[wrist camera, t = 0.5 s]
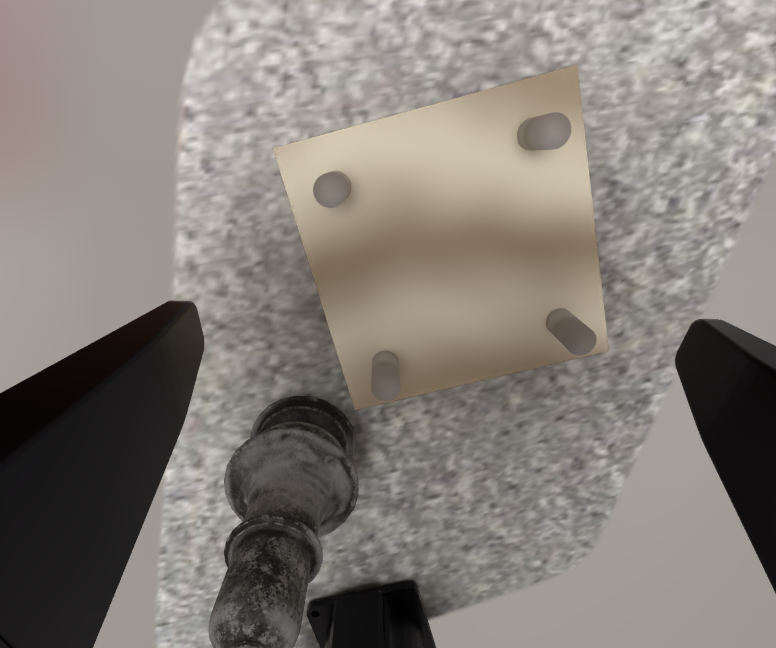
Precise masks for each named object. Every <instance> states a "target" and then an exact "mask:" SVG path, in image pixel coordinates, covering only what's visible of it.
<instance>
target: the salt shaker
mask: <svg viewBox="0 0 776 648" xmlns="http://www.w3.org/2000/svg"><path fill="white" fill-rule="evenodd" d="M354 453H355V434H354V431H353V428H352V425H351V424H350V422H349V421H348V419H347V418H346V416H345V415H344V414H343V413H342V412H341V411H340V410H339V409H337V408H336V407H335V406H334V405H332V404H330V403H328V402H326V401H324V400H321V399H317V398H313V397H309V396H294V397H289V398H285V399H281V400H279V401H277V402H275V403H273V404H271V405H269V406H268V407H267V408H266V409H265V410H264V411H263V412H262V413H261V414H260V415H259V417H258V419H257V420H256V422H255V424H254V426H253V430H252V434H251V439H249V440H247V441H246V442H245V443H244V444H243V445H242V446H240V447H239V448H238V449H237V450H236V451H235V453H234V454H233V456H232V458H231V460H230V461H229V463H228V465H227V468H226V473H225V478H224V484H225V493H226V497H227V499H228V501H229V504H230V506H231V508H232V510H233V511H234V512H235V513H236V514H237V516H238V517H239V518H240V519H241V521H243V522H242V523H241V524H239V525H238V526H237V527H236V528H235V529H234V530H233V531H232V532H231V534H230V536H229V537H228V539H227V541H226V545H225V550H224V556H225V562H226V565H227V567H228V570H227V572H226V575H225V578H224V580H223V583H222V586H221V589H220V591H219V594H218V597H217V599H216V602H215V605H214V608H213V610H212V613H211V618H210V623H209V637H210V641H211V643H212V646H213V648H293V647H294V645H295V643H296V641H297V638H298V635H299V632H300V628H301V622H302V616H303V610H304V604H305V598H306V592H307V586H308V583H310V582H311V581H312V580H313V579H314V578H315V576H316V575H317V574H318V572H319V570H320V567H321V564H322V560H323V555H322V547H321V544H320V541H319V539H318V538H319V537H321V536H323V535H325V534H328V533H330V532H332V531H334V530H335V529H336V528H338V527H339V526H340V525H341V524H342V523H344V522H345V521H346V520H347V518H348V517H349V515H350V514H351V512H352V511H353V510H354V507H355V504H356V501H357V498H358V477H357V474H356V471H355V468H354V465H353V463H352V459H353V456H354Z"/></svg>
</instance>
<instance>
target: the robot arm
mask: <svg viewBox="0 0 776 648" xmlns="http://www.w3.org/2000/svg"><path fill="white" fill-rule="evenodd" d="M203 351H204V336H203V331H202V327H201V323H200V319H199V315H198V311H197V307H196V306H195V304H194V303H193V302H191V301H168V302H166V303H165V304H162V305H161V306H159V307H157V308H155V309H153V310H152V311H150V312H148V313H146V314H144V315H142V316H141V317H139V318H137V319H135V320H133V321H131V322H130V323H128V324H126V325H124V326H122V327H120V328H119V329H117V330H115V331H113V332H111V333H109V334H108V335H106V336H104V337H102V338H100V339H99V340H97V341H95V342H93V343H91V344H89V345H88V346H86V347H84V348H82V349H80V350H78V351H77V352H75V353H73V354H71V355H69V356H67V357H66V358H64V359H62V360H60V361H58V362H57V363H55V364H53V365H51V366H49V367H47V368H46V369H44V370H42V371H41V372H38V373H37V374H35V375H33V376H31V377H29V378H27V379H26V380H24V381H22V382H20V383H18V384H16V385H15V386H13V387H11V388H9V389H7V390H5V391H4V392H2V393H0V648H93V646H94V644H95V641H96V639H97V636H98V634H99V631H100V629H101V626H102V624H103V622H104V619H105V617H106V614H107V612H108V609H109V607H110V604H111V602H112V599H113V597H114V594H115V592H116V589H117V587H118V585H119V582H120V580H121V577H122V575H123V572H124V569H125V567H126V565H127V562H128V560H129V557H130V555H131V553H132V550H133V548H134V545H135V542H136V540H137V538H138V535H139V533H140V530H141V528H142V525H143V523H144V521H145V518H146V516H147V513H148V511H149V508H150V506H151V503H152V501H153V498H154V496H155V494H156V491H157V489H158V486H159V484H160V481H161V479H162V476H163V474H164V471H165V469H166V466H167V464H168V462H169V459H170V457H171V454H172V452H173V449H174V447H175V444H176V442H177V439H178V437H179V434H180V432H181V429H182V426H183V424H184V421H185V418H186V414H187V411H188V407H189V404H190V400H191V396H192V392H193V389H194V385H195V381H196V378H197V374H198V370H199V366H200V363H201V359H202V355H203ZM675 365H676V369H677V372H678V375H679V377H680V380H681V383H682V386H683V389H684V391H685V395H686V397H687V400H688V403H689V406H690V409H691V412H692V414H693V417H694V420H695V423H696V426H697V428H698V431H699V434H700V436H701V438H702V441H703V443H704V445H705V448H706V450H707V452H708V454H709V456H710V458H711V460H712V462H713V464H714V466H715V468H716V470H717V473H718V475H719V477H720V479H721V481H722V483H723V485H724V487H725V489H726V491H727V493H728V495H729V498H730V499H731V502H732V504H733V506H734V508H735V510H736V512H737V514H738V516H739V518H740V520H741V522H742V525H743V527H744V529H745V531H746V533H747V535H748V537H749V539H750V541H751V543H752V545H753V547H754V549H755V552H756V554H757V555H758V558H759V560H760V562H761V564H762V566H763V568H764V570H765V572H766V574H767V576H768V578H769V581H770V582H771V585H772V587H773V589H774V591H775V593H776V346H775V345H773V344H770V343H768V342H766V341H764V340H762V339H760V338H757V337H756V336H754V335H752V334H750V333H748V332H745V331H744V330H741V329H739V328H737V327H735V326H733V325H731V324H729V323H727V322H725V321H723V320H718V319H698V320H695V321H694V322H693V323H692V324H691V326H690V327H689V329H688V331H687V333H686V335H685V337H684V339H683V341H682V343H681V345H680V347H679V349H678V351H677V353H676V357H675ZM408 591H411V592H408ZM307 617H308V619H309V622H310V624H311V627H312V629H313V631H314V634H315V636H316V639H317V641H318V643H319V646H320V648H436V646H435V643H434V640H433V636H432V633H431V630H430V626H429V623H428V620H427V616H426V613H425V610H424V607H423V603H422V600H421V597H420V594H419V590H418V587H417V585H416V584H414V583H412V582H405V583H401V584H396V585H391V586H386V587H381V588H376V589H372V590H367V591H362V592H357V593H352V594H347V595H343V596H338V597H333V598H328V599H323V600H318V601H314V602H311V603H310V604H309V605H308V608H307Z"/></svg>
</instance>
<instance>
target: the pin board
mask: <svg viewBox="0 0 776 648" xmlns="http://www.w3.org/2000/svg"><path fill="white" fill-rule="evenodd" d="M273 150H274V153H275V156H276V160H277V163H278V166H279V169H280V172H281V176H282V179H283V182H284V185H285V188H286V192H287V195H288V198H289V201H290V204H291V208H292V211H293V214H294V217H295V220H296V224H297V227H298V230H299V233H300V236H301V240H302V243H303V246H304V249H305V252H306V256H307V259H308V262H309V265H310V268H311V272H312V275H313V278H314V281H315V284H316V288H317V291H318V294H319V297H320V300H321V304H322V307H323V310H324V313H325V316H326V320H327V323H328V326H329V329H330V332H331V336H332V339H333V342H334V345H335V348H336V352H337V355H338V358H339V361H340V364H341V368H342V371H343V374H344V377H345V380H346V384H347V387H348V390H349V393H350V396H351V400H352V403H353V406H354V409H355V410H358V409H362V408H366V407H371V406H375V405H379V404H384V403H388V402H392V401H396V400H401V399H405V398H409V397H414V396H418V395H422V394H427V393H431V392H435V391H439V390H444V389H448V388H452V387H457V386H461V385H465V384H469V383H474V382H478V381H482V380H487V379H491V378H495V377H499V376H504V375H508V374H512V373H517V372H521V371H525V370H529V369H534V368H538V367H542V366H547V365H551V364H555V363H560V362H564V361H568V360H572V359H577V358H581V357H585V356H590V355H594V354H598V353H602V352H607V351H609V348H608V339H607V330H606V321H605V312H604V303H603V294H602V285H601V276H600V267H599V258H598V249H597V240H596V231H595V222H594V213H593V204H592V195H591V186H590V177H589V168H588V159H587V150H586V141H585V132H584V123H583V115H582V106H581V97H580V88H579V79H578V70H577V65H575V66H571V67H568V68H564V69H560V70H557V71H553V72H549V73H546V74H542V75H539V76H535V77H531V78H528V79H524V80H520V81H517V82H513V83H509V84H506V85H502V86H498V87H495V88H491V89H487V90H484V91H480V92H477V93H473V94H469V95H466V96H462V97H458V98H455V99H451V100H447V101H444V102H440V103H436V104H433V105H429V106H426V107H422V108H418V109H415V110H411V111H407V112H404V113H400V114H396V115H393V116H389V117H385V118H382V119H378V120H374V121H371V122H367V123H364V124H360V125H356V126H353V127H349V128H345V129H342V130H338V131H334V132H331V133H327V134H323V135H320V136H316V137H313V138H309V139H305V140H302V141H298V142H294V143H291V144H287V145H283V146H280V147H276V148H273Z"/></svg>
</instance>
